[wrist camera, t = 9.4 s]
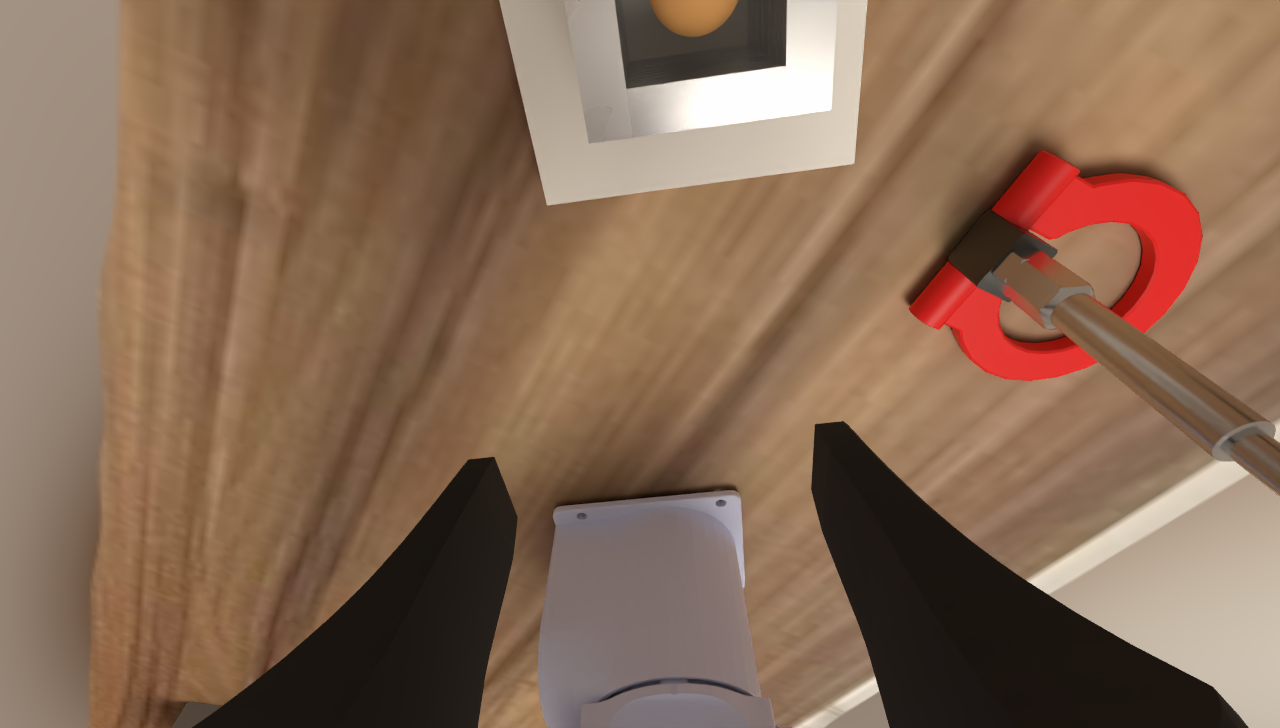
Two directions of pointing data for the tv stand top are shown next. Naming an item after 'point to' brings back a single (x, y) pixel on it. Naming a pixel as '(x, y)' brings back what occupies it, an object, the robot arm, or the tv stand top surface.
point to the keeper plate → (661, 26)
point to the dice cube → (194, 714)
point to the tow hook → (1092, 301)
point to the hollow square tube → (703, 71)
